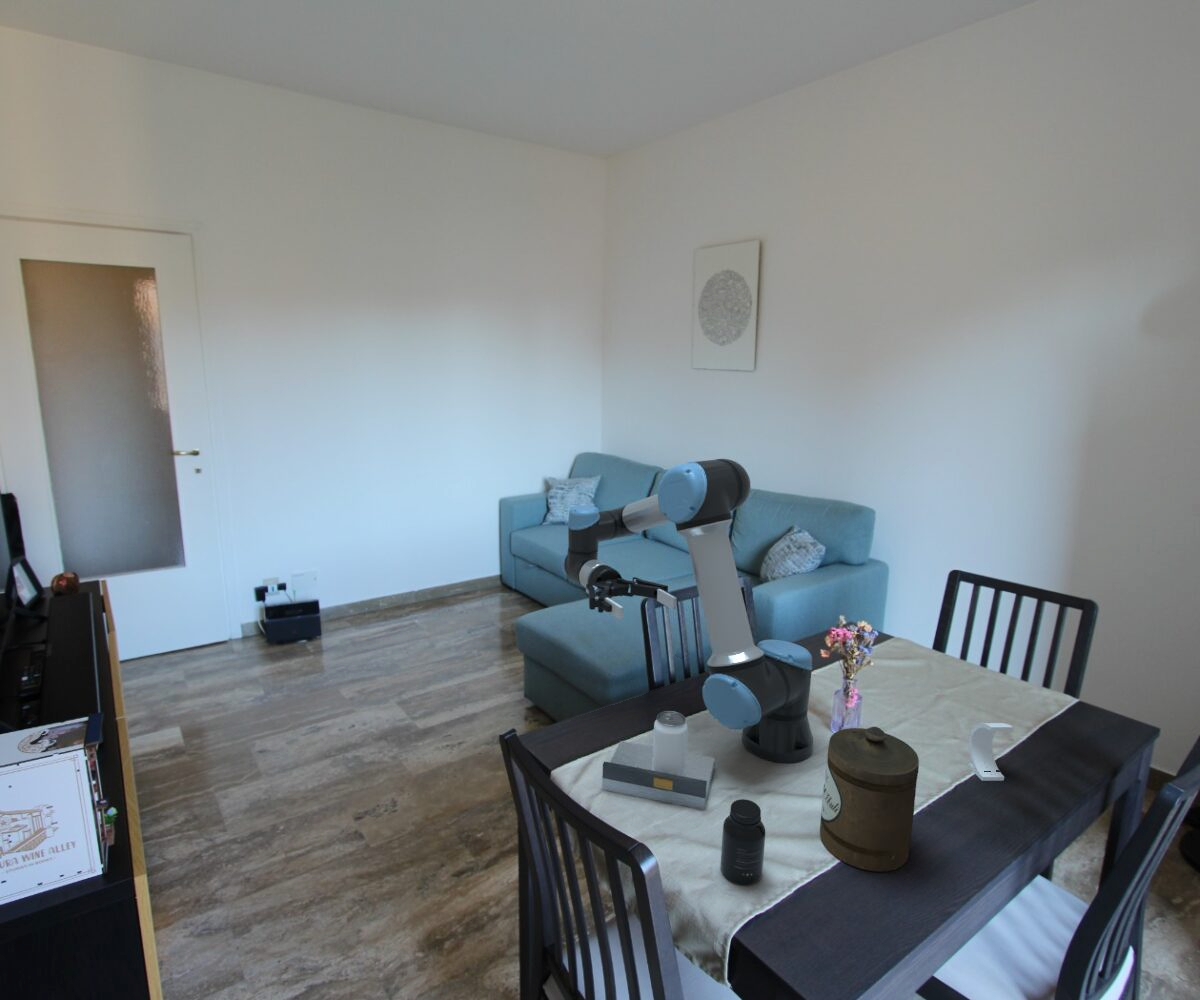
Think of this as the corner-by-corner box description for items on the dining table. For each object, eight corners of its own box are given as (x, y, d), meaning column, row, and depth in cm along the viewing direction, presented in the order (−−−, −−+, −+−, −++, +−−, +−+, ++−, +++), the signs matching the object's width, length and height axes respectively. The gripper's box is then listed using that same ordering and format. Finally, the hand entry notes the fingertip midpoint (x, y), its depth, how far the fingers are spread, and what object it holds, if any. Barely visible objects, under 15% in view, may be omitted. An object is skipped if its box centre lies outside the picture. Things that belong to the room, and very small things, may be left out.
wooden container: (829, 805, 134) (840, 700, 129) (913, 833, 127) (928, 722, 122) (809, 851, 121) (821, 736, 117) (901, 885, 114) (918, 764, 110)
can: (674, 761, 143) (677, 707, 140) (690, 779, 137) (694, 723, 134) (646, 768, 140) (648, 713, 137) (661, 786, 134) (664, 729, 132)
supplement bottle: (715, 857, 119) (720, 794, 117) (754, 856, 120) (760, 793, 117) (726, 888, 113) (731, 822, 110) (767, 886, 113) (773, 820, 111)
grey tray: (713, 768, 145) (715, 744, 144) (704, 811, 131) (705, 785, 130) (620, 751, 150) (621, 728, 149) (601, 790, 136) (602, 765, 135)
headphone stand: (982, 780, 143) (990, 727, 141) (965, 763, 149) (973, 712, 146) (1003, 780, 143) (1012, 727, 141) (986, 763, 149) (994, 712, 147)
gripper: (644, 587, 175) (695, 616, 157) (553, 602, 163) (597, 634, 145) (645, 558, 173) (696, 584, 155) (554, 571, 162) (598, 600, 143)
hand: (648, 608), depth 150 cm, fingers open, 13 cm apart
